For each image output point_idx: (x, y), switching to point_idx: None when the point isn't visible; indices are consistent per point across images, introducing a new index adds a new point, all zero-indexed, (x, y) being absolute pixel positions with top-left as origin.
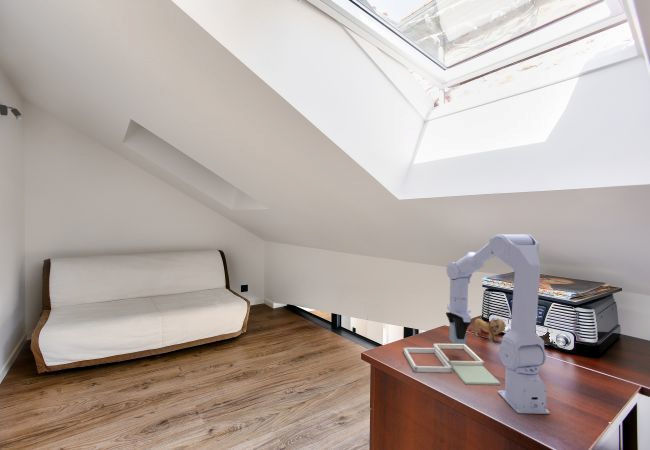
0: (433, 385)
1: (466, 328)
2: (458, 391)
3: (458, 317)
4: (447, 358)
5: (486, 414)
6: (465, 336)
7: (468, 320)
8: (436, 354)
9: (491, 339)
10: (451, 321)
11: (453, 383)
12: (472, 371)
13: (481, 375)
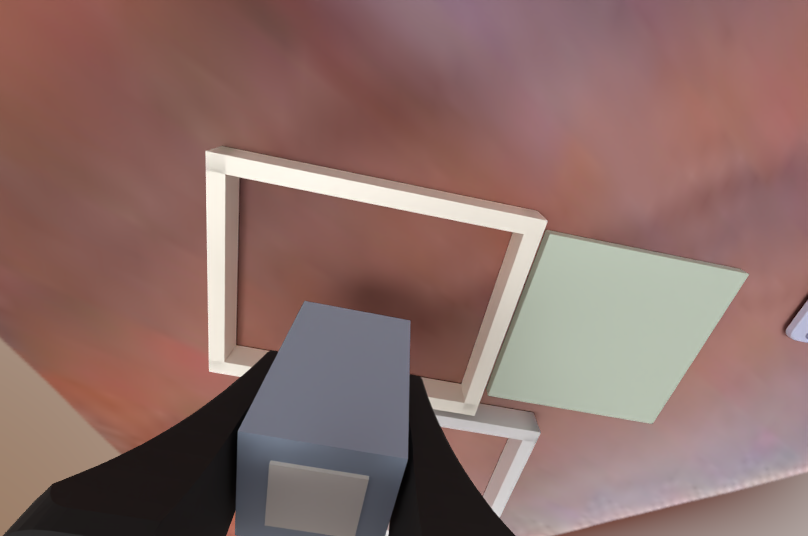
0: (596, 515)
1: (463, 478)
2: (676, 464)
3: (191, 528)
4: (435, 401)
5: None
6: (408, 369)
7: None
8: None
9: None
10: (225, 528)
11: (617, 451)
12: (581, 335)
13: (638, 318)
